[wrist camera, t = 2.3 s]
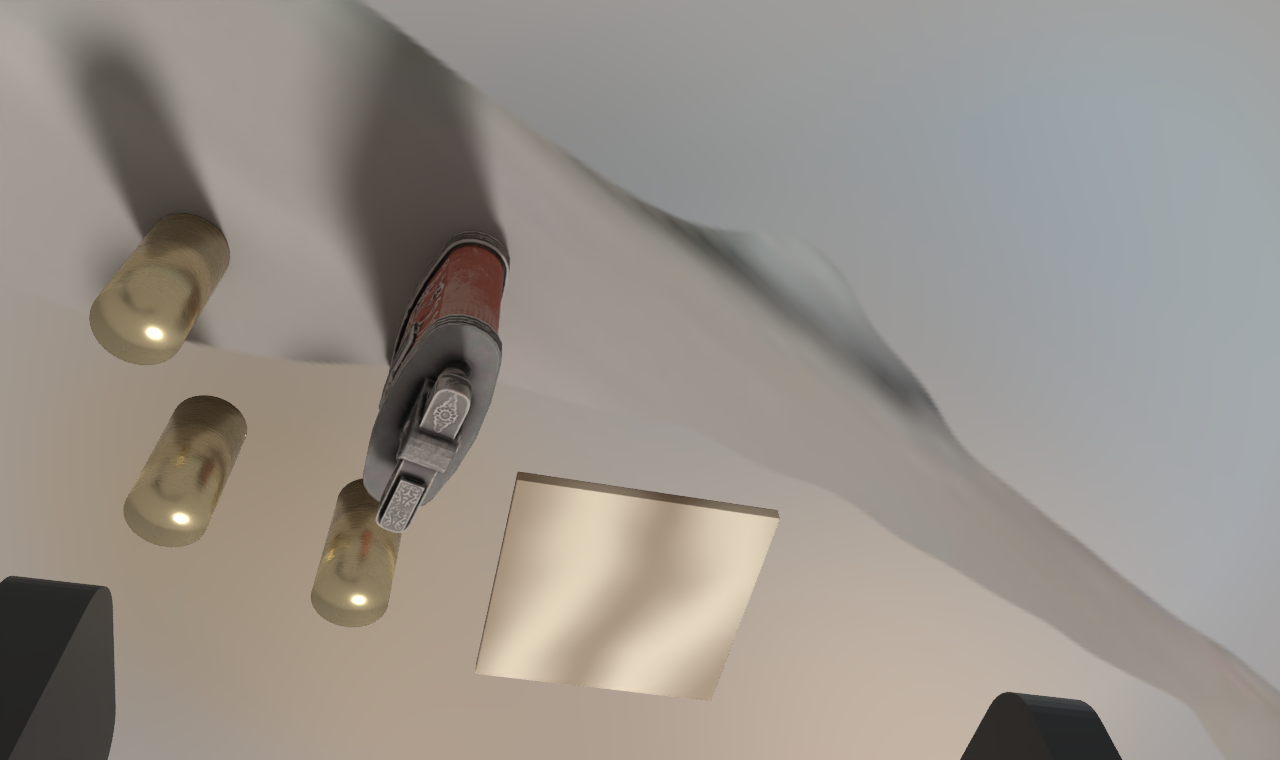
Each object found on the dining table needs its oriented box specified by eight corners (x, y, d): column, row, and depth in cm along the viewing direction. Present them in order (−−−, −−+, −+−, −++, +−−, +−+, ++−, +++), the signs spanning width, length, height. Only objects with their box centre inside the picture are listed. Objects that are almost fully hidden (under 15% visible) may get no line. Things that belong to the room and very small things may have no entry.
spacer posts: (146, 501, 47) (97, 596, 42) (147, 206, 40) (88, 278, 35) (402, 535, 49) (383, 631, 44) (444, 260, 42) (428, 336, 37)
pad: (476, 664, 54) (475, 673, 53) (517, 471, 48) (517, 479, 47) (709, 692, 56) (710, 700, 55) (777, 510, 50) (779, 518, 49)
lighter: (446, 216, 41) (417, 347, 33) (528, 251, 42) (521, 388, 34) (373, 380, 45) (330, 537, 37) (450, 409, 46) (425, 568, 38)
